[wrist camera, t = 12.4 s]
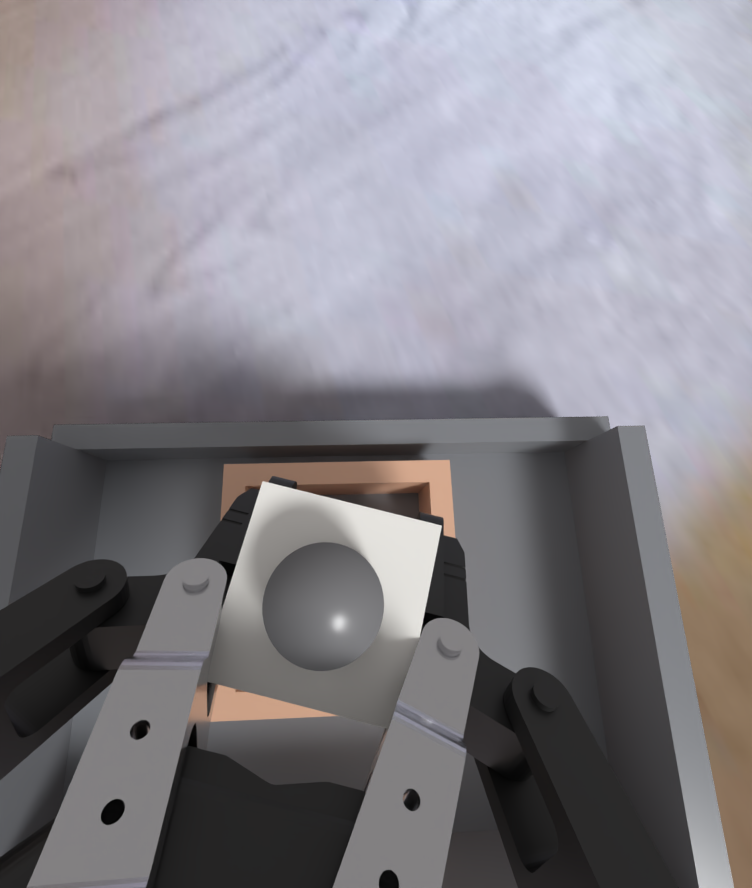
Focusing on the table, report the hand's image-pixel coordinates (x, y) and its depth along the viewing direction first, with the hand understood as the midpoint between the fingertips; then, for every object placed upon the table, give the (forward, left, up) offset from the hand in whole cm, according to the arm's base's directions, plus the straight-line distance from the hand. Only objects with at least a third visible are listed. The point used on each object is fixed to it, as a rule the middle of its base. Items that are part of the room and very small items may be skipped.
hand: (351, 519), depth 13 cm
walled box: (-1, -4, -6) cm, 7 cm away
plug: (-1, -2, -4) cm, 5 cm away
